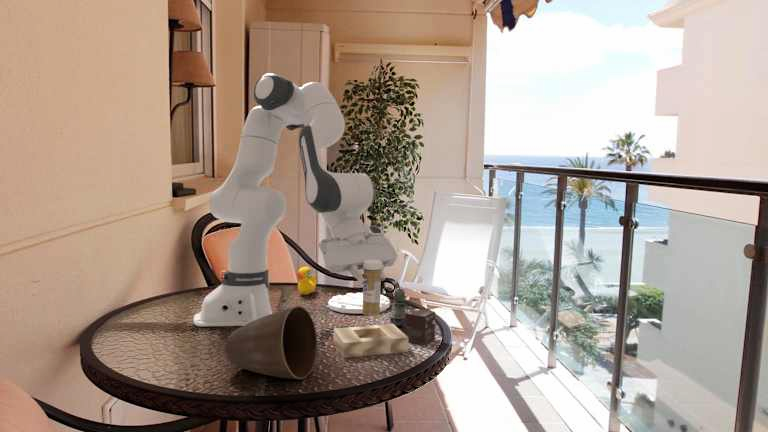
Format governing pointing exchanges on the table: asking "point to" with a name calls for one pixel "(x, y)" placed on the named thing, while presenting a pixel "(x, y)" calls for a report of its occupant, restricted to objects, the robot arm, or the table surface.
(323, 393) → the table surface
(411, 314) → the box
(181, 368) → the table surface
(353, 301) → the embossed medallion
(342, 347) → the holder
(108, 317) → the table surface
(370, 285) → the sprinkles bottle
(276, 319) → the plant pot
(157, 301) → the table surface
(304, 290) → the duckling
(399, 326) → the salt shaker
